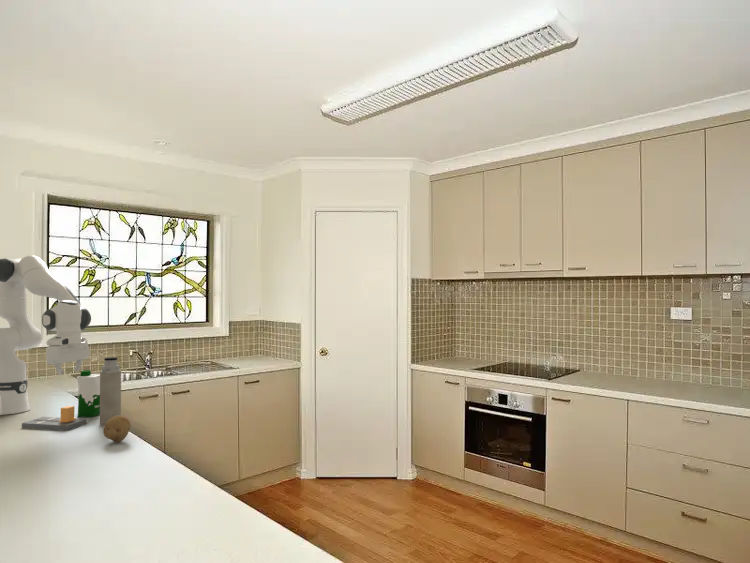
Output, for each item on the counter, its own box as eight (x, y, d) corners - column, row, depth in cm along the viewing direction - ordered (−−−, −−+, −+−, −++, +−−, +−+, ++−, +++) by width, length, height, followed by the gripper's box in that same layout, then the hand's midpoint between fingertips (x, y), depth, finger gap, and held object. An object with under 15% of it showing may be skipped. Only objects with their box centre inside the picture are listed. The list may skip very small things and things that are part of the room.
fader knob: (58, 422, 214) (58, 408, 214) (67, 419, 219) (67, 405, 219) (67, 422, 213) (67, 408, 214) (76, 419, 218) (76, 406, 218)
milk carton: (85, 412, 240) (86, 369, 241) (105, 413, 240) (105, 369, 240) (74, 417, 231) (74, 372, 232) (94, 417, 231) (94, 372, 232)
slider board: (21, 428, 214) (21, 422, 214) (43, 421, 224) (43, 416, 225) (67, 430, 210) (67, 425, 210) (86, 423, 221) (86, 418, 221)
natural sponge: (119, 447, 188) (119, 419, 188) (97, 445, 190) (97, 418, 190) (135, 440, 197) (135, 413, 197) (114, 438, 199) (114, 412, 199)
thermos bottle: (107, 421, 225) (107, 356, 225) (124, 421, 224) (125, 356, 225) (95, 426, 217) (96, 358, 218) (113, 426, 216) (114, 358, 217)
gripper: (80, 337, 228) (80, 368, 228) (43, 341, 208) (43, 376, 208) (93, 337, 227) (93, 369, 227) (57, 341, 207) (57, 376, 207)
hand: (69, 372), depth 217 cm, fingers open, 8 cm apart
